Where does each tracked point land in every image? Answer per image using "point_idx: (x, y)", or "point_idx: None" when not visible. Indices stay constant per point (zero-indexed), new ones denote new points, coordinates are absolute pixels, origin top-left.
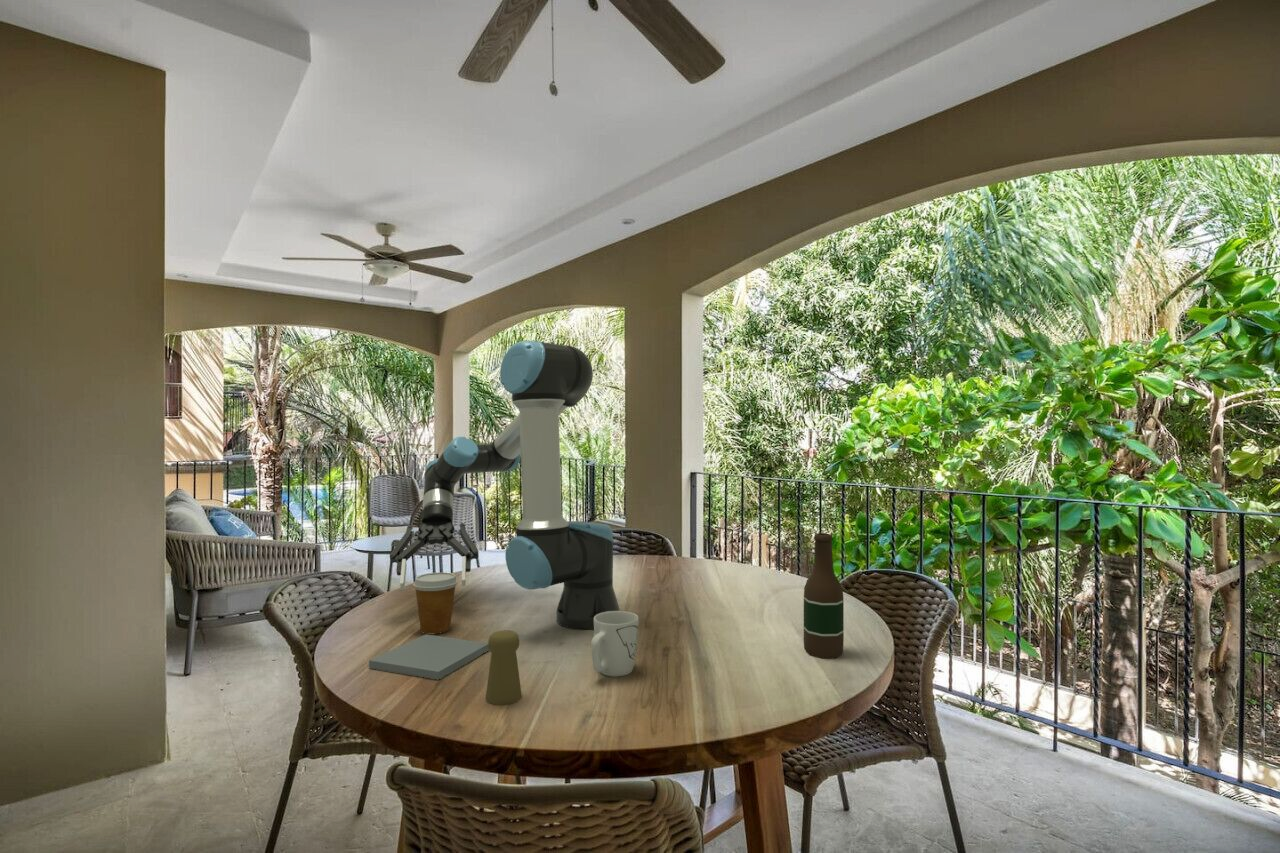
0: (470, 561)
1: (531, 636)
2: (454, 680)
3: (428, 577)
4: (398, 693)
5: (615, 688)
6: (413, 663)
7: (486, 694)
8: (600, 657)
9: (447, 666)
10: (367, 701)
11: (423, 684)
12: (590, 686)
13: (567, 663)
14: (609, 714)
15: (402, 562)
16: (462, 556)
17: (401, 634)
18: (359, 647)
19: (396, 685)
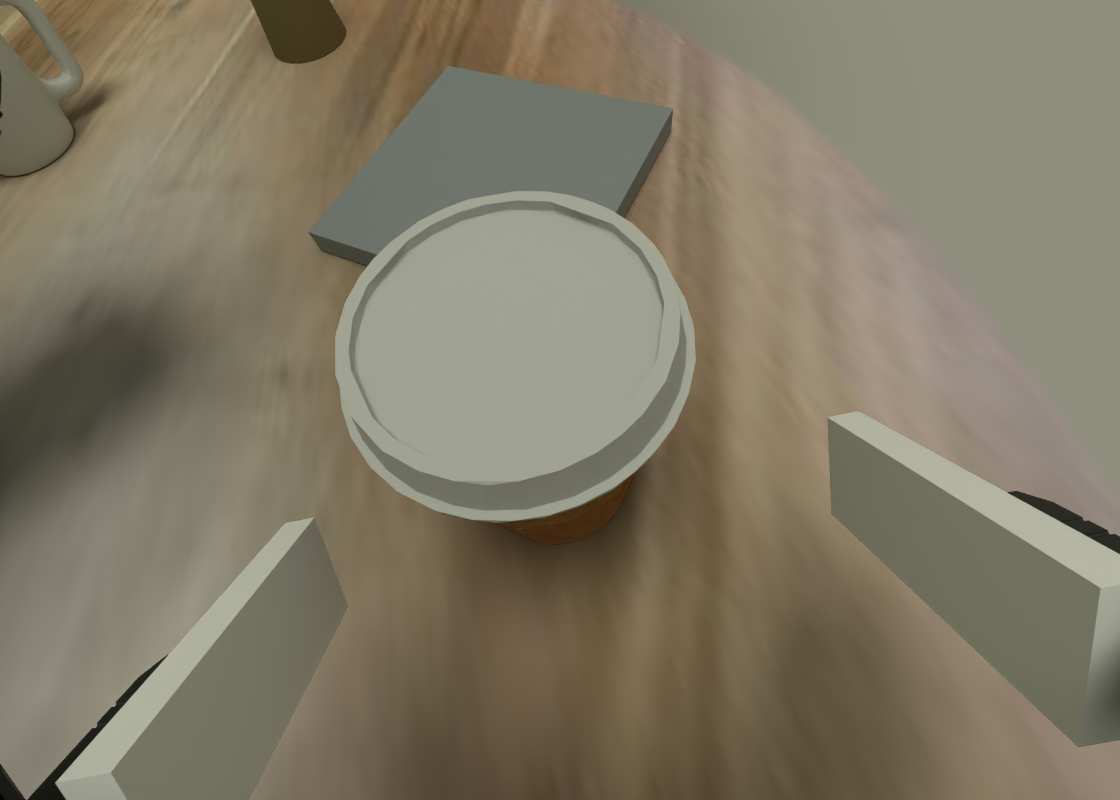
0: (71, 756)
1: (154, 379)
2: (416, 89)
3: (578, 351)
4: (533, 36)
5: (84, 81)
6: (528, 99)
7: (338, 17)
8: (39, 84)
9: (429, 89)
10: (588, 9)
11: (487, 70)
12: (127, 85)
13: (126, 178)
14: (143, 11)
15: (1076, 536)
16: (114, 768)
17: (704, 417)
18: (810, 275)
19: (551, 63)
